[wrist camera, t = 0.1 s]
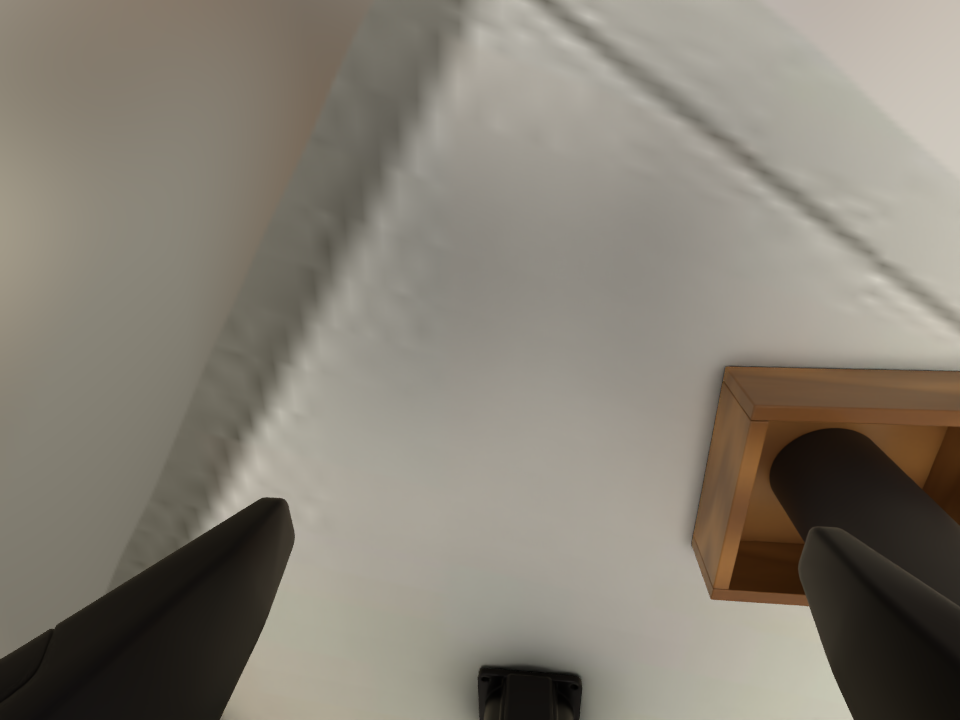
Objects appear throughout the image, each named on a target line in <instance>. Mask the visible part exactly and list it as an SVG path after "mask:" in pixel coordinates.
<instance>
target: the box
mask: <svg viewBox="0 0 960 720" xmlns="http://www.w3.org/2000/svg"><path fill="white" fill-rule="evenodd" d="M723 380H724V381H723V383H722V388H721V393H720V398H719V404H718V409H717V414H716V419H715V424H714V430H713V435H712V440H711V445H710V451H709V456H708V461H707V466H706V471H705V477H704V482H703V487H702V492H701V498H700V503H699V508H698V513H697V519H696V524H695V529H694V535H693V539H692V547H693V550H694V553H695V556H696V559H697V561H698V564H699V567H700V570H701V573H702V576H703V578H704V581H705V584H706V587H707V590H708V593H709V595H710V598H711V599H712V600H726V601H741V602H756V603H771V604H785V605H800V606H809V604H808V601H807V598H806V595H805V592H804V589H803V586H802V583H801V580H800V577H799V571H798V566H799V560H800V557H801V554H802V551H803V548H804V544H805V542H804V541H803V539H802V538H801V536H800V534H799V533H798V531H797V530H796V528H795V526H794V525H793V523H792V522H791V520H790V518H789V517H788V515H787V514H786V512H785V510H784V509H783V507H782V505H781V504H780V502H779V501H778V499H777V497H776V496H775V494H774V492H773V491H772V488H771V486H770V470H771V467H772V464H773V462H774V460H775V458H776V457H777V455H778V454H779V453H780V451H781V450H782V449H783V448H784V447H786V446H787V445H788V444H789V443H790V442H792V441H793V440H795V439H797V438H798V437H800V436H802V435H805V434H807V433H810V432H813V431H817V430H821V429H828V428H842V429H849V430H853V431H856V432H859V433H861V434H863V435H865V436H867V437H868V438H870V439H871V440H872V441H873V442H874V443H875V444H876V445H877V446H878V447H879V448H880V449H881V450H882V451H883V452H884V453H885V454H886V455H887V456H888V457H889V458H891V459H892V460H893V461H894V462H895V463H896V464H897V465H898V466H899V467H900V468H901V469H902V470H903V471H904V472H905V473H906V474H907V475H908V476H909V477H910V478H911V479H912V480H913V481H914V482H915V483H916V484H917V485H918V486H919V487H920V488H921V489H922V490H923V491H924V492H925V493H927V494H928V495H929V496H930V497H931V498H932V499H933V500H934V501H935V502H936V503H937V504H938V505H939V506H940V507H941V508H942V509H943V510H944V511H945V512H946V513H947V514H948V515H949V516H950V517H951V518H952V519H953V520H954V521H955V522H956V523H957V524H958V525H959V526H960V372H959V371H912V370H865V369H817V368H770V367H726V368H725V373H724V378H723Z"/></svg>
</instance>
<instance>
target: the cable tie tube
mask: <svg viewBox="0 0 960 720" xmlns="http://www.w3.org/2000/svg"><path fill="white" fill-rule="evenodd" d="M770 486H771V488H772V491H773V492H774V494H775V496H776V497H777V499H778V501H779V502H780V504H781V505H782V507H783V509H784V510H785V512H786V514H787V515H788V517H789V518H790V520H791V522H792V523H793V525H794V526H795V528H796V530H797V531H798V533H799V534H800V536H801V538H802V539H803V541H804V542H805V541H806V538H807V535H808V532H809V530H810V529H811V528H813V527H817V526H819V527H836V528H840V529H843V530H844V531H846V532H848V533H849V534H851V535H852V536H854V537H855V538H857V539H858V540H860V541H861V542H863V543H864V544H866V545H867V546H869V547H870V548H872V549H873V550H875V551H876V552H878V553H879V554H881V555H882V556H884V557H885V558H887V559H888V560H890V561H891V562H893V563H894V564H896V565H898V566H899V567H901V568H902V569H904V570H905V571H907V572H908V573H910V574H911V575H913V576H914V577H916V578H917V579H919V580H920V581H922V582H923V583H925V584H926V585H928V586H929V587H931V588H932V589H934V590H935V591H937V592H938V593H940V594H941V595H943V596H944V597H946V598H947V599H949V600H950V601H952V602H953V603H955V604H956V605H958V606H960V526H959V525H958V524H957V523H956V522H955V521H954V520H953V519H952V518H951V517H950V516H949V515H948V514H947V513H946V512H945V511H944V510H943V509H942V508H941V507H940V506H939V505H938V504H937V503H936V502H935V501H934V500H933V499H932V498H931V497H930V496H929V495H928V494H927V493H925V492H924V491H923V490H922V489H921V488H920V487H919V486H918V485H917V484H916V483H915V482H914V481H913V480H912V479H911V478H910V477H909V476H908V475H907V474H906V473H905V472H904V471H903V470H902V469H901V468H900V467H899V466H898V465H897V464H896V463H895V462H894V461H893V460H892V459H891V458H889V457H888V456H887V455H886V454H885V453H884V452H883V451H882V450H881V449H880V448H879V447H878V446H877V445H876V444H875V443H874V442H873V441H872V440H871V439H870V438H868V437H867V436H865V435H863V434H861V433H859V432H856V431H853V430H849V429H842V428H828V429H821V430H817V431H813V432H810V433H807V434H805V435H802V436H800V437H798V438H797V439H795V440H793V441H792V442H790V443H789V444H788V445H787V446H786V447H784V448H783V449H782V450H781V451H780V453H779V454H778V455H777V457H776V458H775V460H774V462H773V464H772V467H771V470H770Z"/></svg>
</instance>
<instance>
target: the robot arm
mask: <svg viewBox="0 0 960 720" xmlns="http://www.w3.org/2000/svg"><path fill="white" fill-rule="evenodd" d="M294 539H295V533H294V528H293V524H292V519H291V515H290V511H289V506H288V503H287V502H286V500H285V499H282V498H268V497H266V498H261V499H259V500H258V501H256V502H254V503H253V504H251V505H249V506H248V507H246V508H245V509H243V510H241V511H240V512H238V513H237V514H235V515H233V516H232V517H230V518H228V519H227V520H225V521H224V522H222V523H220V524H219V525H217V526H216V527H214V528H212V529H211V530H209V531H208V532H206V533H204V534H203V535H201V536H199V537H198V538H196V539H195V540H193V541H191V542H190V543H188V544H187V545H185V546H183V547H182V548H180V549H178V550H177V551H175V552H174V553H172V554H170V555H169V556H167V557H166V558H164V559H162V560H161V561H159V562H158V563H156V564H154V565H153V566H151V567H149V568H148V569H146V570H145V571H143V572H141V573H140V574H138V575H137V576H135V577H133V578H132V579H130V580H128V581H127V582H125V583H124V584H122V585H120V586H119V587H117V588H116V589H114V590H112V591H111V592H109V593H107V594H106V595H104V596H103V597H101V598H99V599H98V600H96V601H95V602H93V603H91V604H90V605H88V606H86V607H85V608H83V609H82V610H80V611H78V612H77V613H75V614H74V615H72V616H70V617H69V618H67V619H65V620H64V621H62V622H61V623H59V624H58V625H56V627H55V629H49V630H47V631H46V632H44V633H43V634H41V635H40V636H38V637H36V638H35V639H33V640H31V641H30V642H28V643H27V644H25V645H23V646H22V647H20V648H18V649H17V650H15V651H14V652H12V653H10V654H8V655H7V656H5V657H4V658H2V659H0V720H220V718H221V716H222V714H223V712H224V709H225V707H226V705H227V703H228V701H229V699H230V697H231V695H232V693H233V691H234V689H235V686H236V684H237V682H238V680H239V678H240V676H241V674H242V672H243V670H244V668H245V666H246V664H247V661H248V659H249V657H250V655H251V653H252V651H253V649H254V647H255V645H256V643H257V641H258V638H259V636H260V634H261V632H262V630H263V627H264V625H265V622H266V620H267V617H268V615H269V612H270V609H271V606H272V604H273V601H274V598H275V595H276V593H277V590H278V587H279V584H280V581H281V579H282V576H283V573H284V570H285V568H286V565H287V562H288V559H289V556H290V554H291V551H292V548H293V545H294ZM798 571H799V577H800V580H801V583H802V586H803V589H804V592H805V595H806V598H807V601H808V604H809V607H810V610H811V613H812V615H813V618H814V621H815V624H816V627H817V630H818V633H819V636H820V639H821V642H822V645H823V648H824V650H825V653H826V656H827V659H828V662H829V664H830V667H831V670H832V672H833V675H834V677H835V679H836V682H837V684H838V686H839V688H840V691H841V693H842V695H843V697H844V699H845V702H846V704H847V706H848V708H849V710H850V712H851V715H852V717H853V719H854V720H960V606H958V605H956V604H955V603H953V602H952V601H950V600H949V599H947V598H946V597H944V596H943V595H941V594H940V593H938V592H937V591H935V590H934V589H932V588H931V587H929V586H928V585H926V584H925V583H923V582H922V581H920V580H919V579H917V578H916V577H914V576H913V575H911V574H910V573H908V572H907V571H905V570H904V569H902V568H901V567H899V566H898V565H896V564H894V563H893V562H891V561H890V560H888V559H887V558H885V557H884V556H882V555H881V554H879V553H878V552H876V551H875V550H873V549H872V548H870V547H869V546H867V545H866V544H864V543H863V542H861V541H860V540H858V539H857V538H855V537H854V536H852V535H851V534H849V533H848V532H846V531H844V530H843V529H840V528H836V527H819V526H817V527H813V528H811V529H810V530H809V532H808V535H807V538H806V541H805V544H804V548H803V551H802V554H801V557H800V560H799V566H798ZM478 694H479V717H480V720H579V717H580V705H581V694H582V681H581V679H580V678H579V677H577V676H572V675H561V674H549V673H537V672H525V671H514V670H502V669H490V668H483V669H480V670H479V673H478Z"/></svg>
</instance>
